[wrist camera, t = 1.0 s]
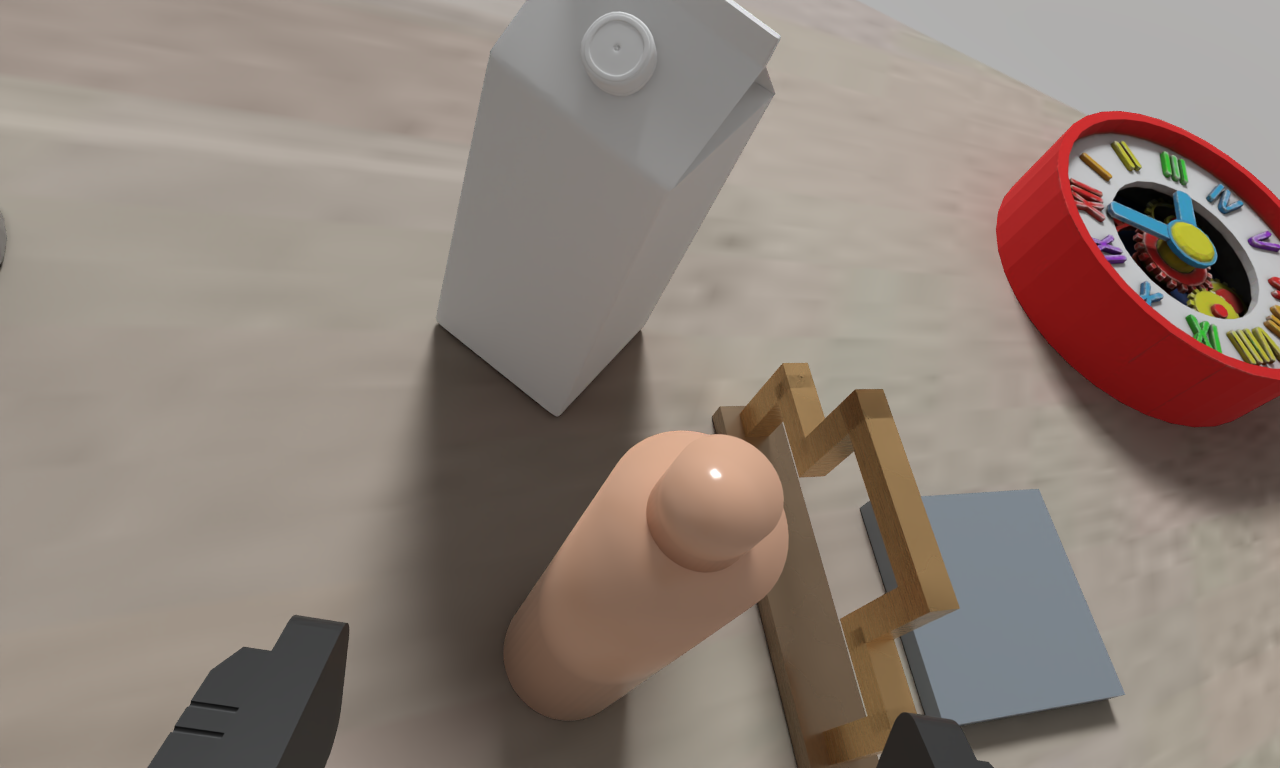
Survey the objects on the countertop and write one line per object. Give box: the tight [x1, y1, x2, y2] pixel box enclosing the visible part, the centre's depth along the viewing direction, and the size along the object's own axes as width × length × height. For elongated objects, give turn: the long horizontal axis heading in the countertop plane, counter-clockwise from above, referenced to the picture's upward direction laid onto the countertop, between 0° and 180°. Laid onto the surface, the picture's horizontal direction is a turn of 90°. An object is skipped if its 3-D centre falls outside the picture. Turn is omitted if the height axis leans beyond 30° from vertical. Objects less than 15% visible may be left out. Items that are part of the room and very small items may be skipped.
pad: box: [860, 489, 1125, 726], centre depth 40 cm, size 10×10×1 cm
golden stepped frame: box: [712, 363, 960, 768], centre depth 34 cm, size 16×3×10 cm, turn 11°
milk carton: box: [436, 0, 781, 416], centre depth 33 cm, size 7×7×19 cm
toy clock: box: [996, 111, 1280, 427], centre depth 54 cm, size 20×6×20 cm
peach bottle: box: [503, 431, 789, 721], centre depth 27 cm, size 5×5×16 cm
